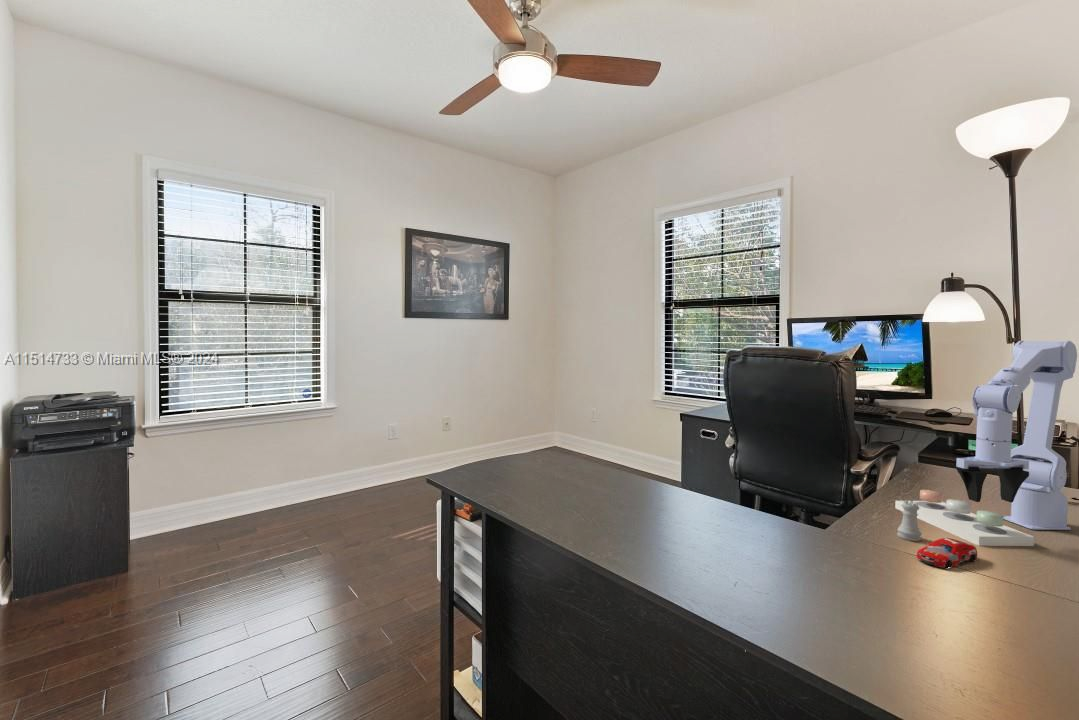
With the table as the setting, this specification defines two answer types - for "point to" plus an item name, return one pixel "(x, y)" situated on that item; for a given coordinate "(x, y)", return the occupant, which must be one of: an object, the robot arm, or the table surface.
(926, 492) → the terracotta button
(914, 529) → the rook chess piece
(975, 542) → the button panel
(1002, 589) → the table surface
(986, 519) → the sage button
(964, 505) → the grey button
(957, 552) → the race car
